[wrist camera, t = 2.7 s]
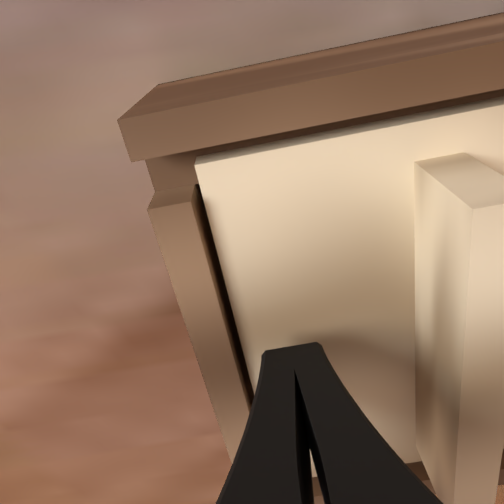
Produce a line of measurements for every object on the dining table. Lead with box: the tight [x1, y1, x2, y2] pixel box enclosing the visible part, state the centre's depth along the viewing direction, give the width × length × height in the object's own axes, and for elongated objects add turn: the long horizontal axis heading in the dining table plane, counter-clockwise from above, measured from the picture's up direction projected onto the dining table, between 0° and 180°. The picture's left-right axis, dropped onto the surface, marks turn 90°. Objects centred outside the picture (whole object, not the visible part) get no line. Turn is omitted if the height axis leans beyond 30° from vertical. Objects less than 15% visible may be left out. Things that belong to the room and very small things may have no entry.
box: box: [117, 12, 504, 504], centre depth 13 cm, size 13×11×5 cm
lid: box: [194, 96, 504, 504], centre depth 10 cm, size 11×10×3 cm
